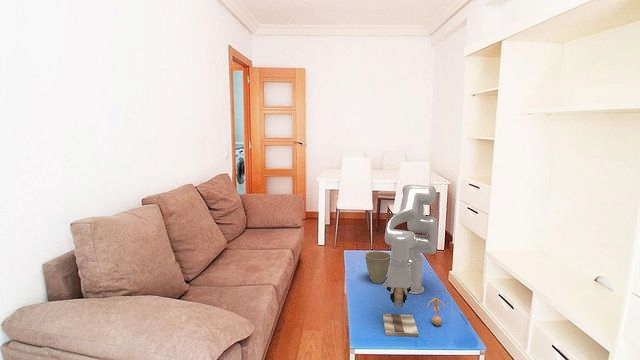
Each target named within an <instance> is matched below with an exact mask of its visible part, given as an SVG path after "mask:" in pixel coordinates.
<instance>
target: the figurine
mask: <svg viewBox="0 0 640 360" xmlns="http://www.w3.org/2000/svg"><path fill="white" fill-rule="evenodd" d="M432 302H433V306H432V307H433V313H434V316H433V317H432V323H433V324H434V326H440V325H442V319H441V317H440V316H439V313H440V305H439V303H441V304H442V306H443V307H444V309H446V306H445V304H444V302H443V301H442V300H440V299H438V298H436V297H434V298H433V299H432V300H430V301H428V304H427V310H429V309H430V308H429V307H430V303H432ZM436 311H437V312H436ZM436 313H437V315H436Z"/></svg>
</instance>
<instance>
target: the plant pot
mask: <svg viewBox="0 0 640 360" xmlns="http://www.w3.org/2000/svg"><path fill="white" fill-rule="evenodd" d="M364 256H365V263H366V267H367V268H366V269H367V272H368V276H369V278H370V280H371V282H372V283H374V284H383V283H384V282H385V281H386V278H387V274H388V267H389V264H390V263H391V253H389V252H386V251H382V250H381V251H379V250H378V251H377V250H375V251H374V250H372V251H368V252H366V253H365V254H364Z"/></svg>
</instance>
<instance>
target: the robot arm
mask: <svg viewBox="0 0 640 360" xmlns="http://www.w3.org/2000/svg"><path fill="white" fill-rule="evenodd" d="M401 191H402V199H401V204H400V207H399V211H397V212H396V213H394V215H393V216H392V217H391V218H389V220H388V222H387V225H386V227H385V232H384V242H385V244H386V245H388V246H391V247H390V248H391V250H390V252H391V253H390V255H391V258H390V264H389V267H388V272H387V275H386V279H385V280H384V282H383V283H382V287H383V288H385V289H386V290H387V291H388V292H389V295H390V296H389V300H390V301H391V303H393V302H394V288H404V294H403V304H406V301H407V299H408V298H407V297H408V296H407V295H408V294H411V295H419V294H423V293H424V292H425V288H424V286H423V285H422V283H423V282H422V279H423V258H422V256H421V255H420V254H427V255H434V254H435V253H436V252H437V249H438V248H437V247H438V228H439V227H438V220H437V218H436V217H434V216H429V215H428V216H427V215H425V206H431V205H432V204H433V203H434V202H435V201H436V197H437V189H436V188H435V186H434V185H425V184H423V185H421V184H406V185H404V186H403V187H402V190H401ZM406 222H407V230H403V229H395V228H396V227H397V226H398V225H400V224H403V223H406ZM416 233H417V234H416ZM420 234H421V235H420ZM422 234H425V235H422Z"/></svg>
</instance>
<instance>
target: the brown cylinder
mask: <svg viewBox="0 0 640 360" xmlns="http://www.w3.org/2000/svg"><path fill="white" fill-rule="evenodd" d="M393 292H394V302H392V306H394V307H396V308H402V307H404V303H403V294H404V288H394V291H393Z"/></svg>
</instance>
